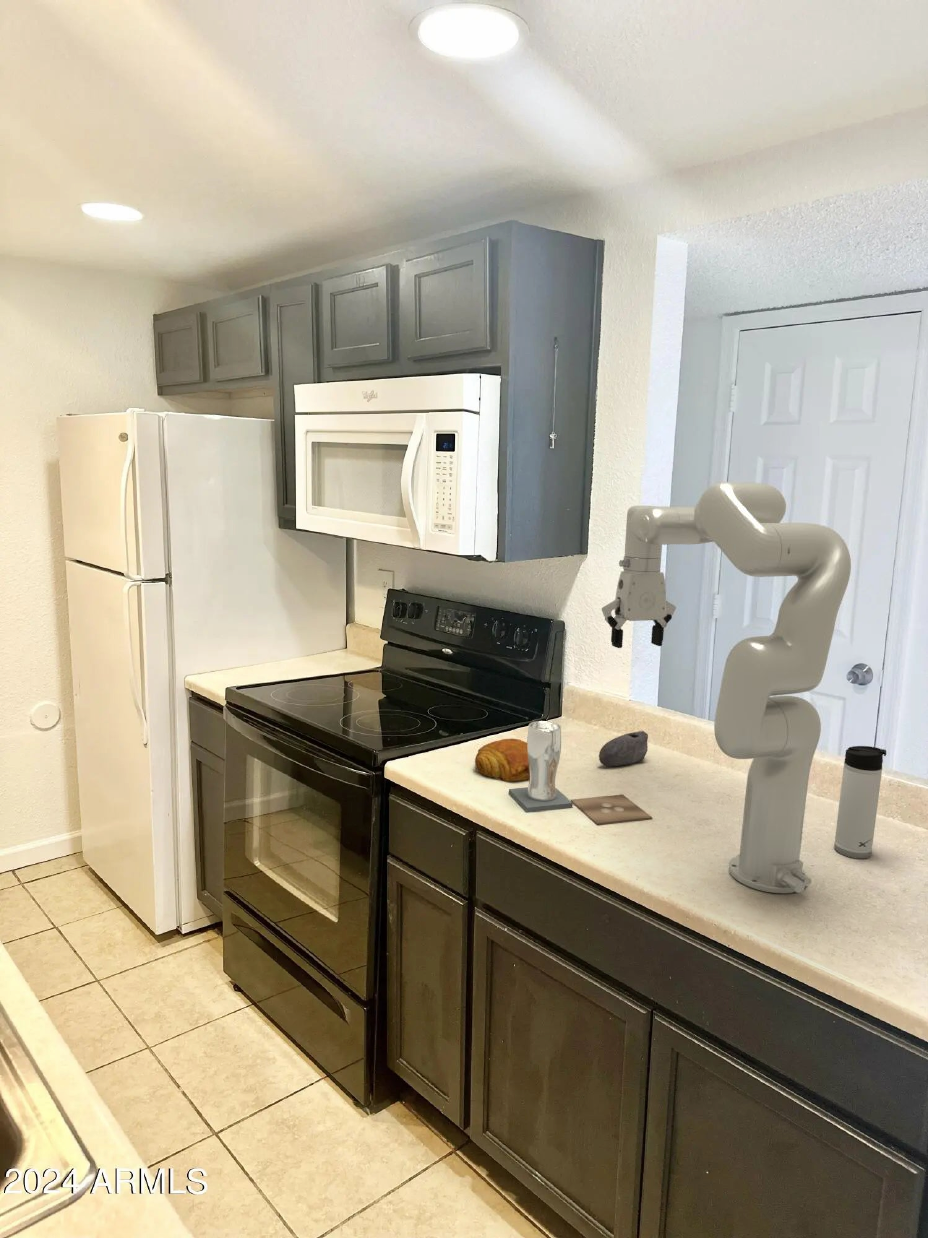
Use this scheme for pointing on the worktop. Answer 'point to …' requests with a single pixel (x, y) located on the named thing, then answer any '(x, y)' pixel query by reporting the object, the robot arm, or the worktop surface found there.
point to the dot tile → (610, 809)
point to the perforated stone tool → (624, 749)
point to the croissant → (504, 760)
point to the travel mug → (858, 801)
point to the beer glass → (543, 759)
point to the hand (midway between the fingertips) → (636, 645)
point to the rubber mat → (535, 805)
